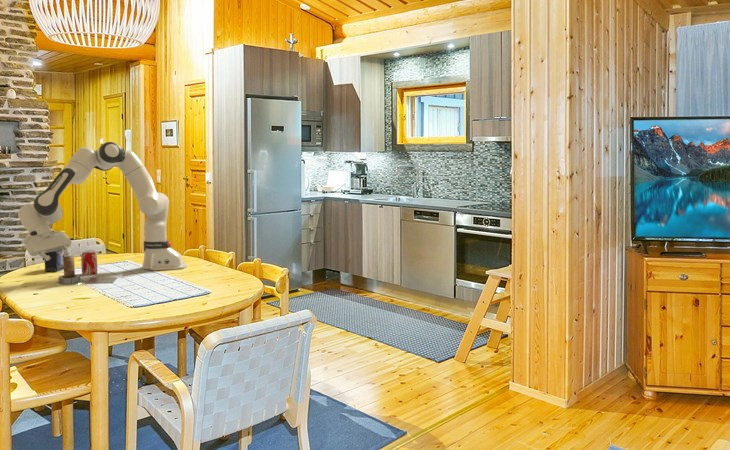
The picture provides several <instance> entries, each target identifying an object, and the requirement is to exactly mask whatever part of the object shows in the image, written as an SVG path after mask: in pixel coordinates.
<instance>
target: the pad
mask: <svg viewBox="0 0 730 450" xmlns="http://www.w3.org/2000/svg"><path fill="white" fill-rule="evenodd" d="M117 279H118V277H117V276H113V277H111V276H110V277H90V278H89V279H88V280H86V281H85V282H84V284H86V285H88V284H90V285H93V284H95V285H96V284H114V282H116V280H117Z"/></svg>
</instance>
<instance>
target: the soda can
mask: <svg viewBox="0 0 730 450" xmlns="http://www.w3.org/2000/svg"><path fill="white" fill-rule="evenodd" d="M80 255H81V256H80V260H81V261H80V262H81V263H80V266H81V275H83V276H93V275H98V255H97V253H96V250H83V251H82V253H81V254H80Z"/></svg>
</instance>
